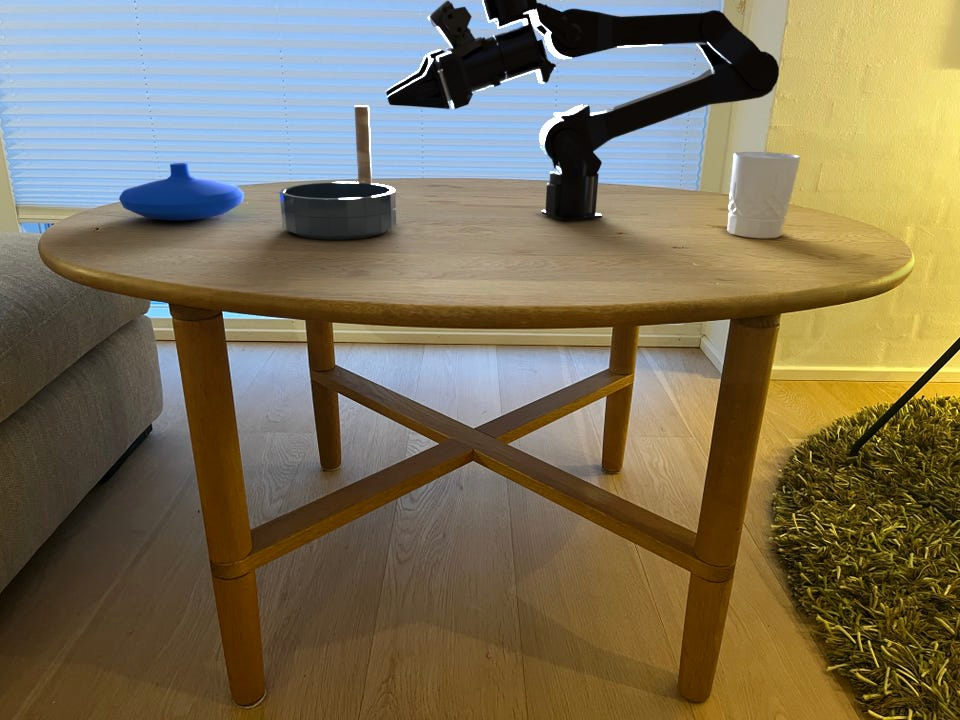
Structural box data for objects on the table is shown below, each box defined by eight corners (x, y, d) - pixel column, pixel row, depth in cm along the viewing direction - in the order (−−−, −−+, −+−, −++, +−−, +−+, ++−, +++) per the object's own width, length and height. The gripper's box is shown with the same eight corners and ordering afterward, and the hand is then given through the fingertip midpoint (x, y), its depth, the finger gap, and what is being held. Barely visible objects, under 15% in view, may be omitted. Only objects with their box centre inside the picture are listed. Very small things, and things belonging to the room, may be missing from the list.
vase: (95, 224, 90) (84, 168, 87) (171, 204, 104) (163, 155, 102) (204, 231, 87) (197, 173, 84) (267, 210, 101) (262, 160, 99)
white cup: (787, 231, 93) (801, 154, 90) (784, 242, 87) (799, 159, 83) (726, 225, 96) (737, 150, 93) (718, 236, 90) (730, 155, 86)
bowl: (375, 216, 99) (373, 180, 97) (412, 235, 87) (411, 195, 85) (273, 223, 92) (269, 185, 91) (298, 245, 81) (295, 202, 79)
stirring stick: (375, 194, 116) (371, 105, 111) (385, 198, 112) (382, 106, 107) (346, 196, 114) (341, 105, 109) (355, 200, 110) (350, 106, 105)
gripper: (471, -4, 97) (365, 33, 97) (492, -11, 80) (364, 33, 80) (494, 78, 102) (393, 113, 102) (518, 87, 85) (397, 129, 85)
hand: (387, 97), depth 92 cm, fingers open, 9 cm apart
